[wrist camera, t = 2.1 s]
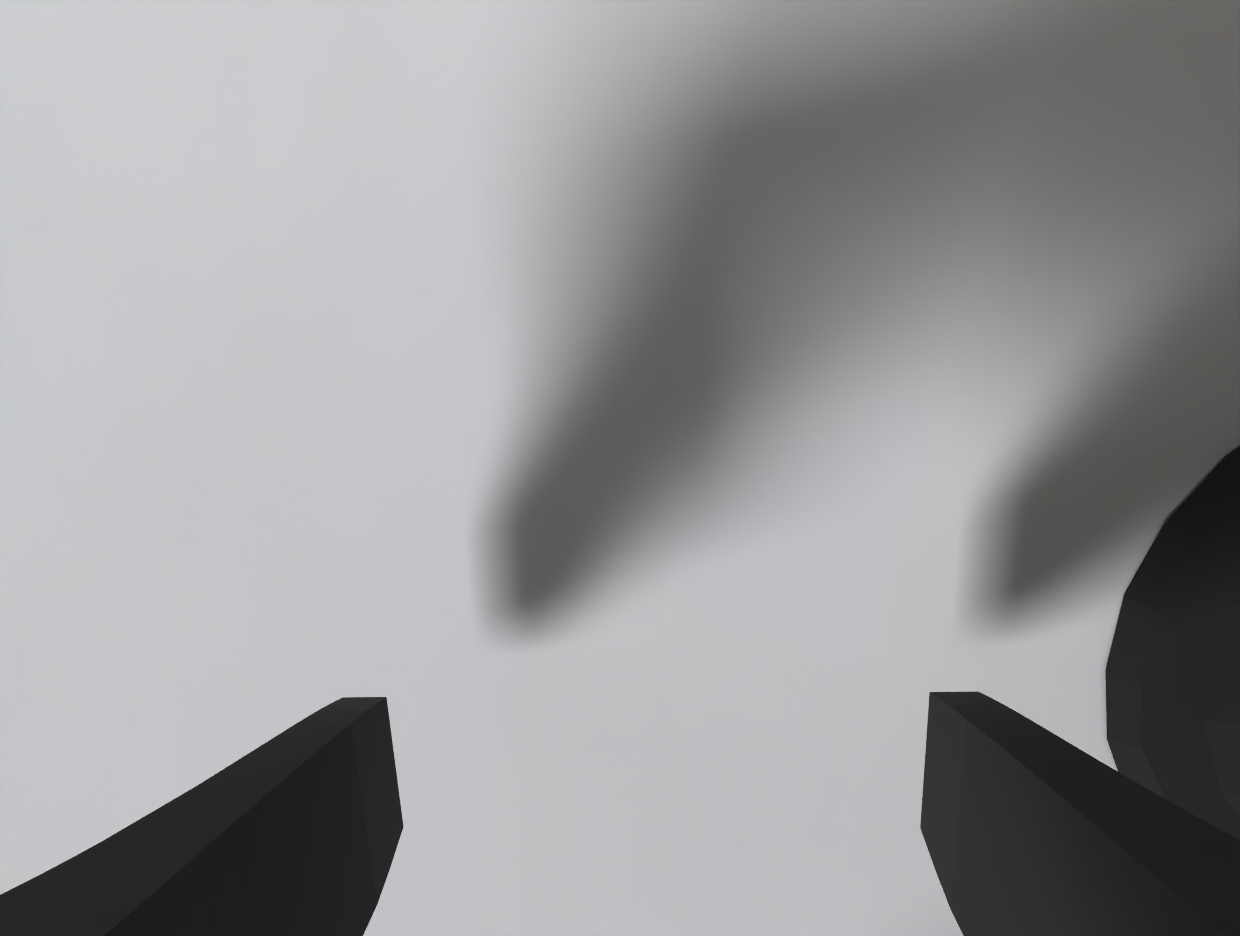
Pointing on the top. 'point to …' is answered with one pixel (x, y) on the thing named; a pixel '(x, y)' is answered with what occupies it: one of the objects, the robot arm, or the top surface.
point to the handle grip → (1184, 659)
